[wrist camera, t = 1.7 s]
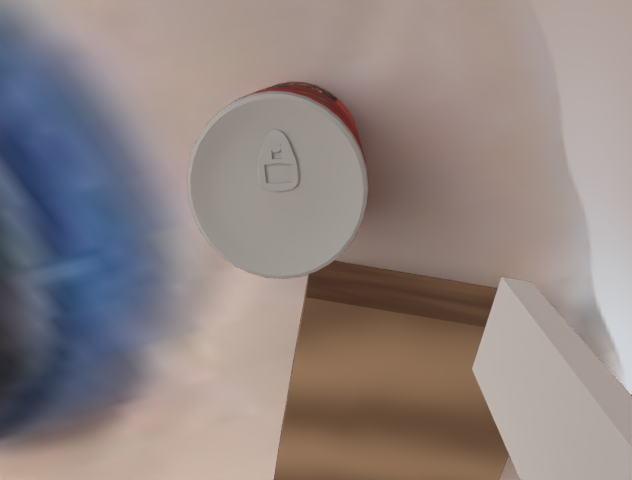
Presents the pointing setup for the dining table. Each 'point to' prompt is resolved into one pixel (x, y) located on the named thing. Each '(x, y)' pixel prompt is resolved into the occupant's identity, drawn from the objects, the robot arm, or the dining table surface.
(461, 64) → the dining table surface
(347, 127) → the canned food
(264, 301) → the dining table surface
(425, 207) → the dining table surface
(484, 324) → the walnut pedestal
